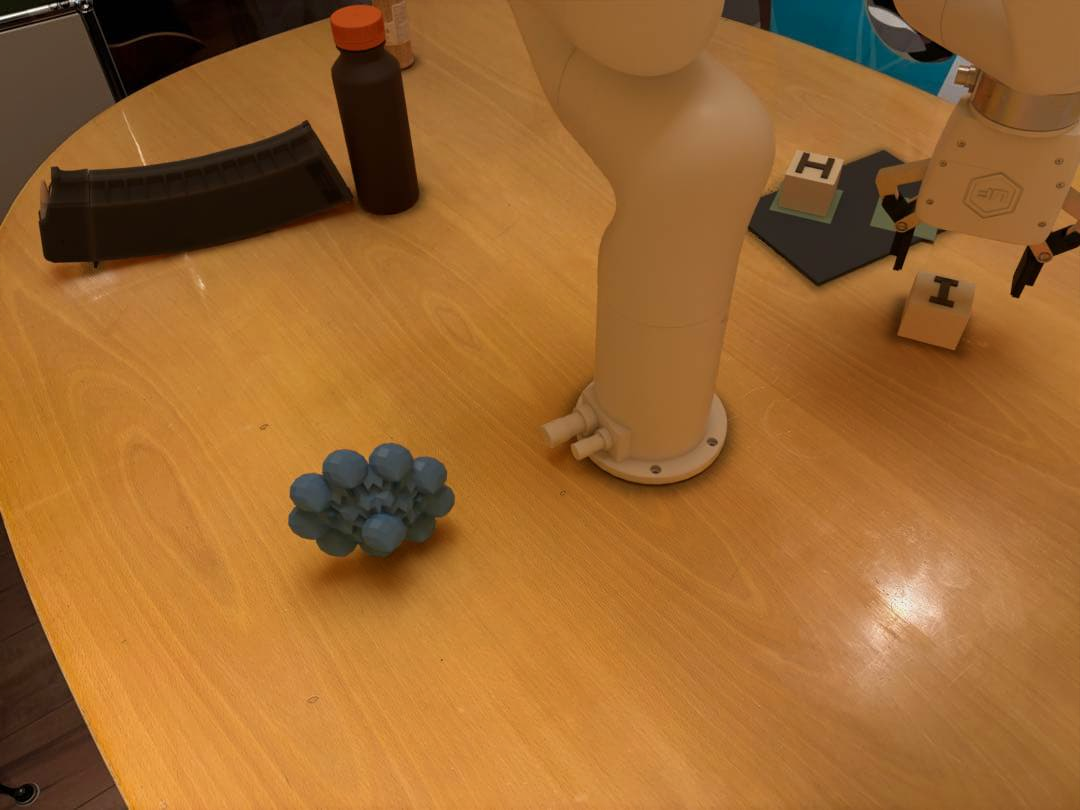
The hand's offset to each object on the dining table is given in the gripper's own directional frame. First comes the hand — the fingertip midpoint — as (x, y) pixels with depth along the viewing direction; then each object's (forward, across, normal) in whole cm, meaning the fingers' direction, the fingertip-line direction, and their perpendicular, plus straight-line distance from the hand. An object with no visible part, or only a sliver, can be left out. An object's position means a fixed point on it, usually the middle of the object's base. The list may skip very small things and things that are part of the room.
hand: (956, 274), depth 76 cm
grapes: (+5, -33, -42) cm, 54 cm away
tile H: (+5, -15, +14) cm, 21 cm away
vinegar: (+5, -58, -2) cm, 58 cm away
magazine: (+4, -71, -16) cm, 73 cm away
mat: (+6, -10, +14) cm, 18 cm away
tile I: (+6, 0, -1) cm, 6 cm away
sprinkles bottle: (+5, -72, +24) cm, 77 cm away
